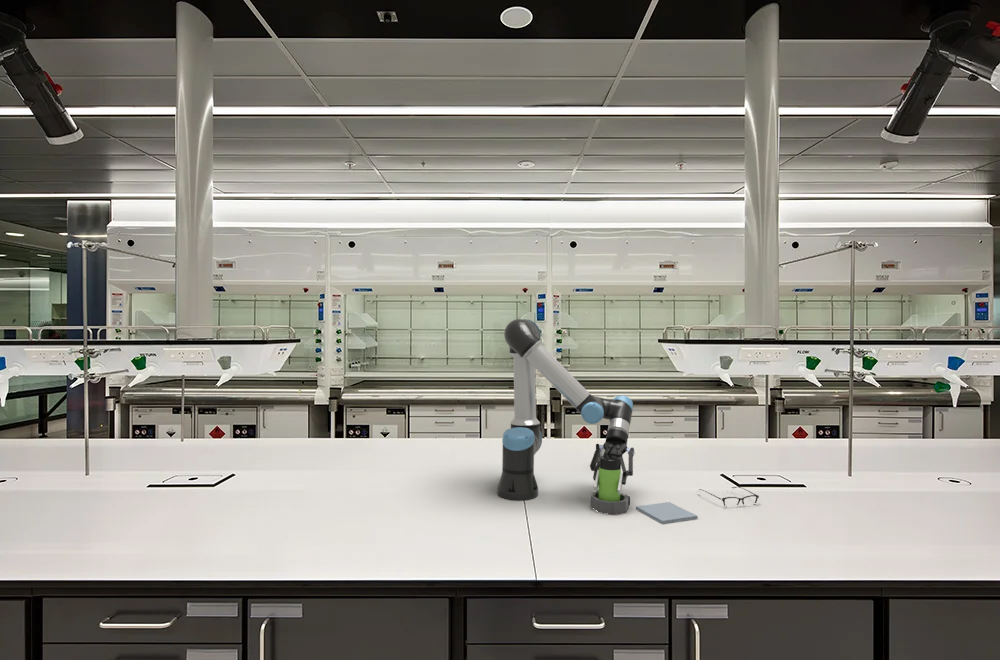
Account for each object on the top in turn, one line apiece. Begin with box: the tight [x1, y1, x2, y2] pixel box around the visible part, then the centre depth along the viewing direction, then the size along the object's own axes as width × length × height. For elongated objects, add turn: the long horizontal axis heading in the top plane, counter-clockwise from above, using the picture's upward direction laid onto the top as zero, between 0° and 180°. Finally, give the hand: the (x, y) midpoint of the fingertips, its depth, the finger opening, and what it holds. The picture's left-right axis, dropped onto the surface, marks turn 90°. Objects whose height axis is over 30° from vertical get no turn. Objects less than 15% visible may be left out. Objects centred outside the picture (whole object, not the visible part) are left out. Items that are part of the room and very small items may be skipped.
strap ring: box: [589, 490, 631, 515], centre depth 179 cm, size 14×12×4 cm
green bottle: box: [598, 455, 622, 502], centre depth 179 cm, size 7×7×17 cm
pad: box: [635, 501, 699, 525], centre depth 174 cm, size 14×14×1 cm
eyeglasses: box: [698, 486, 760, 507], centre depth 190 cm, size 16×16×4 cm
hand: (607, 490), depth 176 cm, fingers closed on green bottle, 7 cm apart
